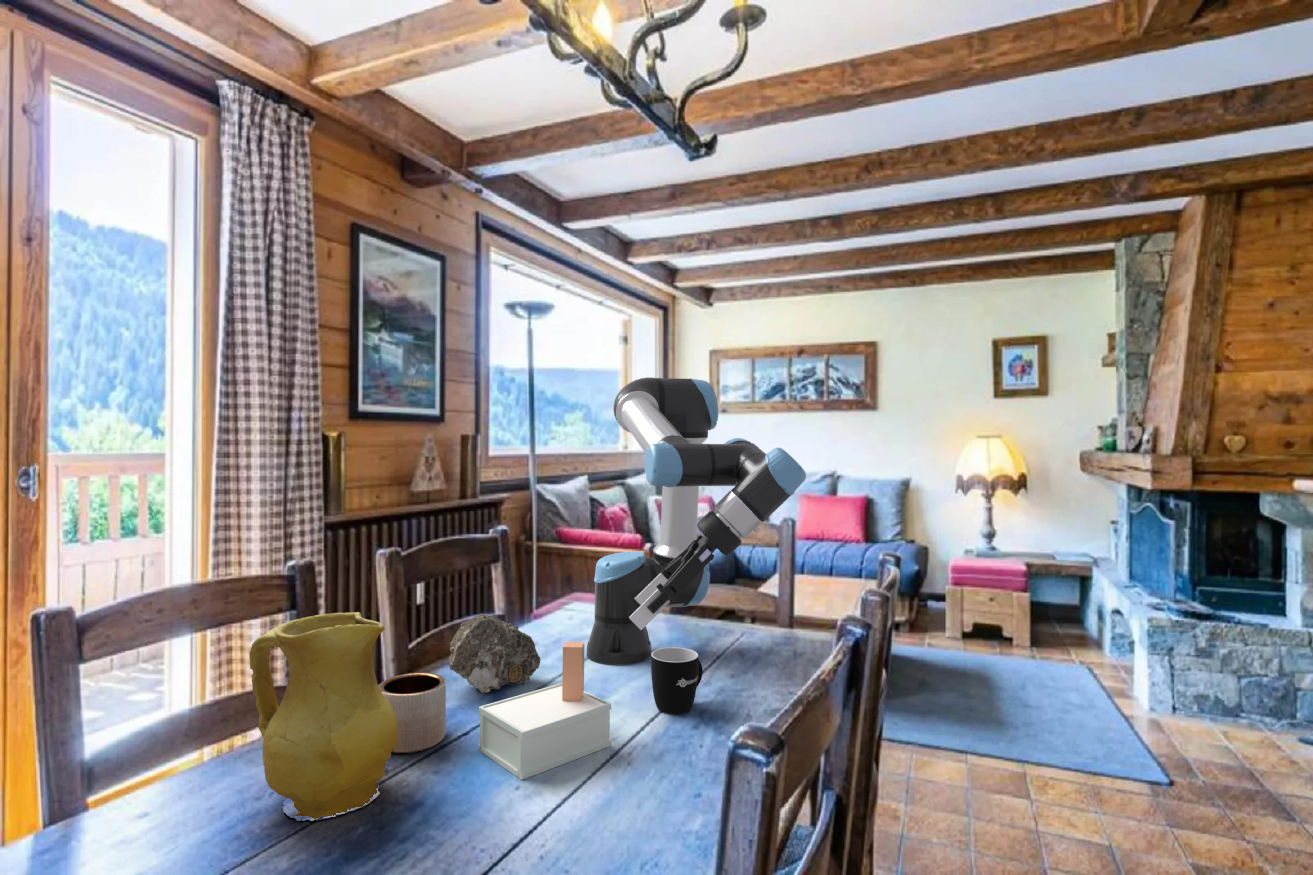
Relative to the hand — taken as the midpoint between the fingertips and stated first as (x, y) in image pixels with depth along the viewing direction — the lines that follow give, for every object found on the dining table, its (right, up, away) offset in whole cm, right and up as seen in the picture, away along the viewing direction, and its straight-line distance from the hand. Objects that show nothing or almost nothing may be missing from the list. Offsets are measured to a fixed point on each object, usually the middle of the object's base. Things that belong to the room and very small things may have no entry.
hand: (637, 613), depth 116 cm
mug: (+8, -22, +15) cm, 27 cm away
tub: (-15, -21, -3) cm, 26 cm away
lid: (-15, -15, -3) cm, 22 cm away
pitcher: (-43, -21, -19) cm, 51 cm away
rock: (-30, -21, +26) cm, 45 cm away
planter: (-38, -21, -1) cm, 43 cm away
